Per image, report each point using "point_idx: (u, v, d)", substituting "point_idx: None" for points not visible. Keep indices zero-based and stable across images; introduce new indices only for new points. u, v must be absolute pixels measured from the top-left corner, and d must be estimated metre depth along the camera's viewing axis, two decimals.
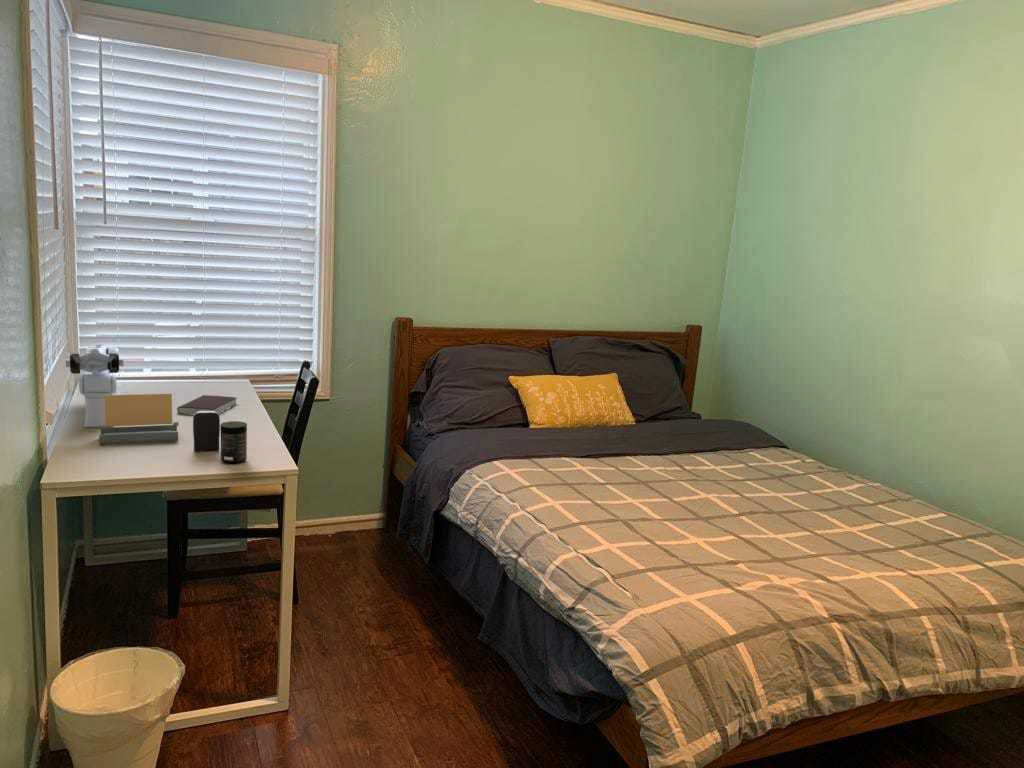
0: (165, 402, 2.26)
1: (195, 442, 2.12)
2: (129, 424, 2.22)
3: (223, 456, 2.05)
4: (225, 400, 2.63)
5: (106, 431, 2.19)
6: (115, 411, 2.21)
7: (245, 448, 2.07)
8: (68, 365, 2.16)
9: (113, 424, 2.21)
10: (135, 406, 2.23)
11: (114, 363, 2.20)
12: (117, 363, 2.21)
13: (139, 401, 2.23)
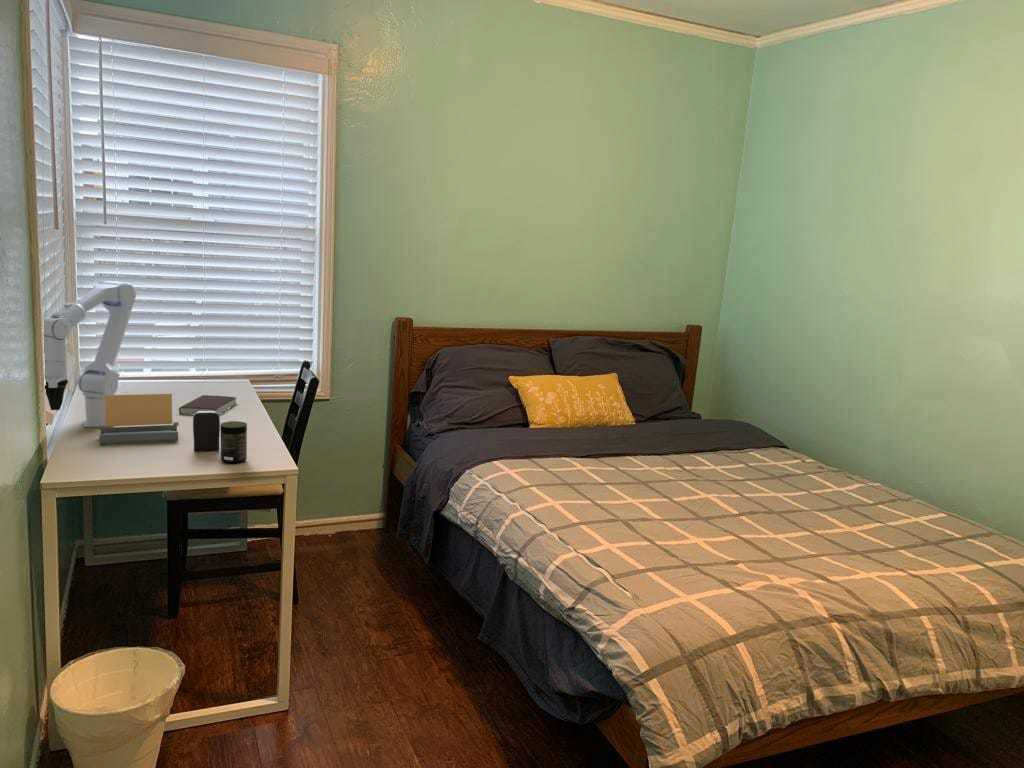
0: (165, 402, 2.26)
1: (195, 442, 2.12)
2: (129, 424, 2.22)
3: (223, 456, 2.05)
4: (225, 400, 2.64)
5: (106, 431, 2.19)
6: (115, 411, 2.21)
7: (245, 448, 2.07)
8: None
9: (113, 424, 2.21)
10: (135, 406, 2.23)
11: None
12: (54, 388, 2.12)
13: (139, 401, 2.23)
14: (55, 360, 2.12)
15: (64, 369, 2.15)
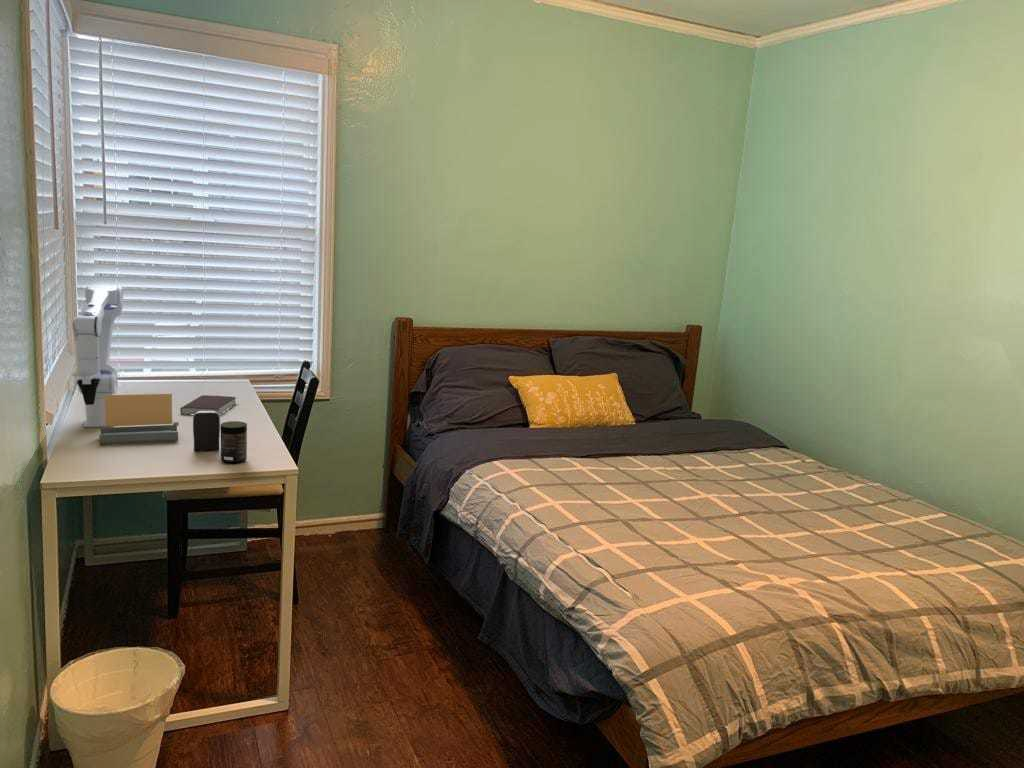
0: (165, 402, 2.26)
1: (195, 442, 2.12)
2: (129, 424, 2.22)
3: (223, 456, 2.05)
4: (226, 400, 2.64)
5: (106, 431, 2.19)
6: (115, 411, 2.21)
7: (245, 448, 2.07)
8: None
9: (113, 424, 2.21)
10: (135, 406, 2.23)
11: None
12: None
13: (139, 401, 2.23)
14: (95, 357, 2.17)
15: (97, 366, 2.19)
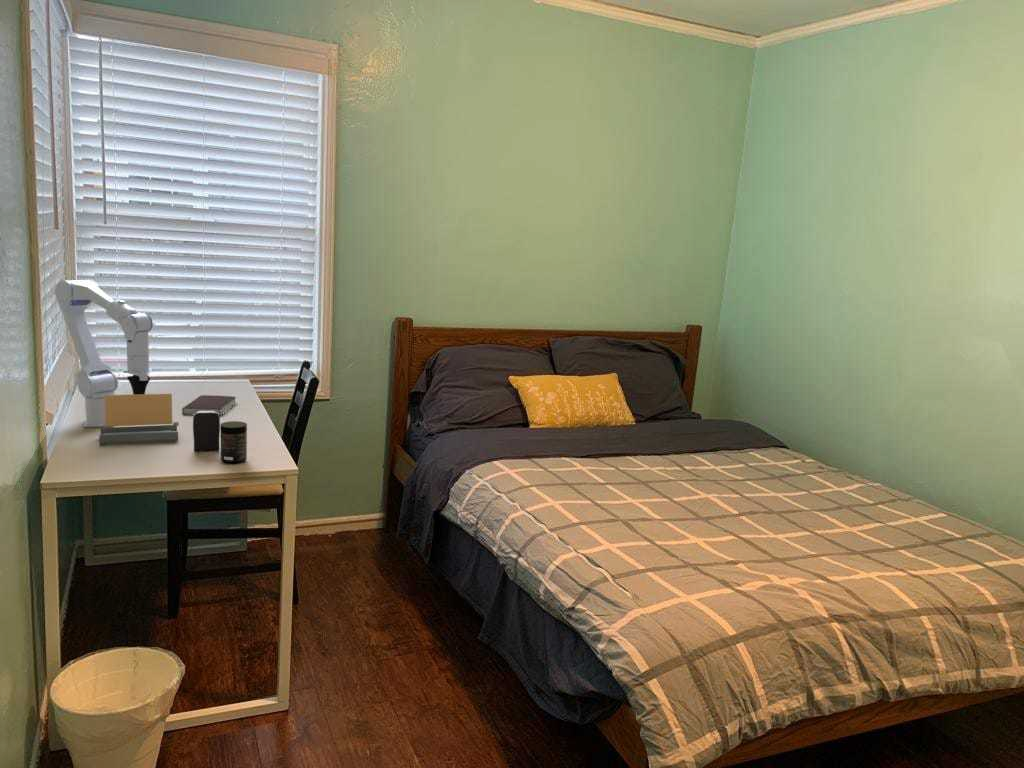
0: (165, 402, 2.26)
1: (195, 442, 2.12)
2: (129, 424, 2.22)
3: (223, 456, 2.05)
4: (226, 399, 2.64)
5: (106, 431, 2.19)
6: (115, 411, 2.21)
7: (245, 448, 2.07)
8: None
9: (113, 424, 2.21)
10: (135, 406, 2.23)
11: None
12: (140, 380, 2.23)
13: (139, 401, 2.23)
14: (148, 353, 2.24)
15: (148, 363, 2.24)
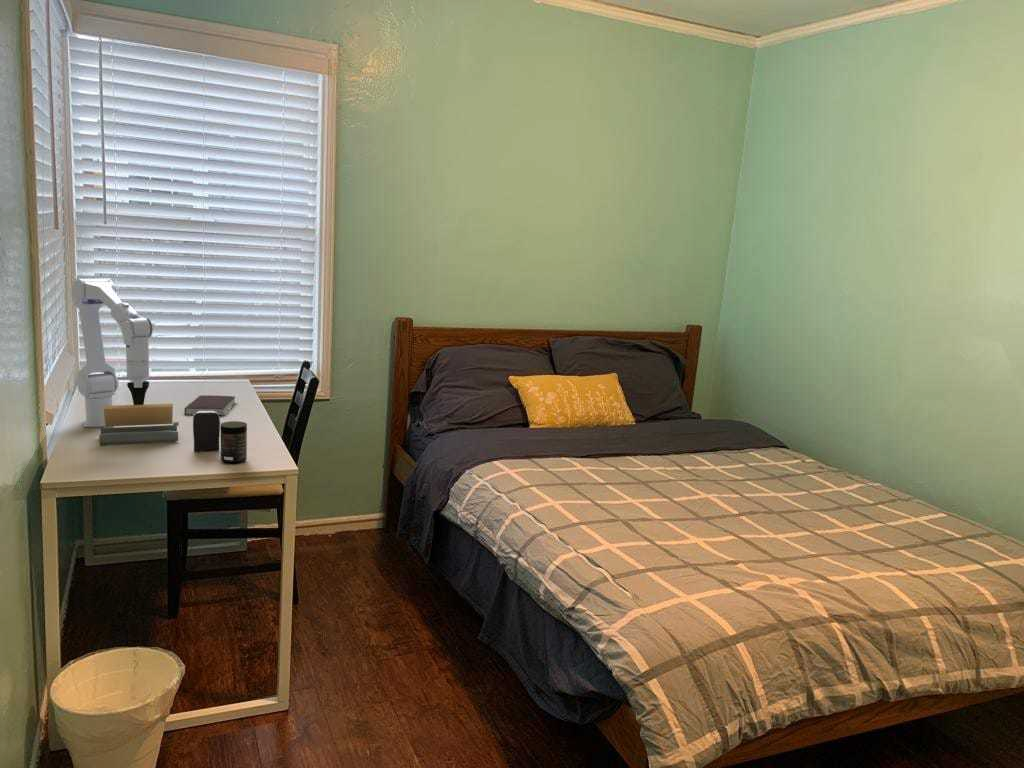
0: (165, 411, 2.22)
1: (195, 442, 2.12)
2: (129, 424, 2.22)
3: (223, 456, 2.05)
4: (227, 399, 2.65)
5: (106, 431, 2.19)
6: (115, 417, 2.18)
7: (245, 448, 2.07)
8: None
9: (113, 425, 2.20)
10: (135, 414, 2.19)
11: None
12: None
13: (139, 411, 2.19)
14: (148, 359, 2.17)
15: (147, 369, 2.16)
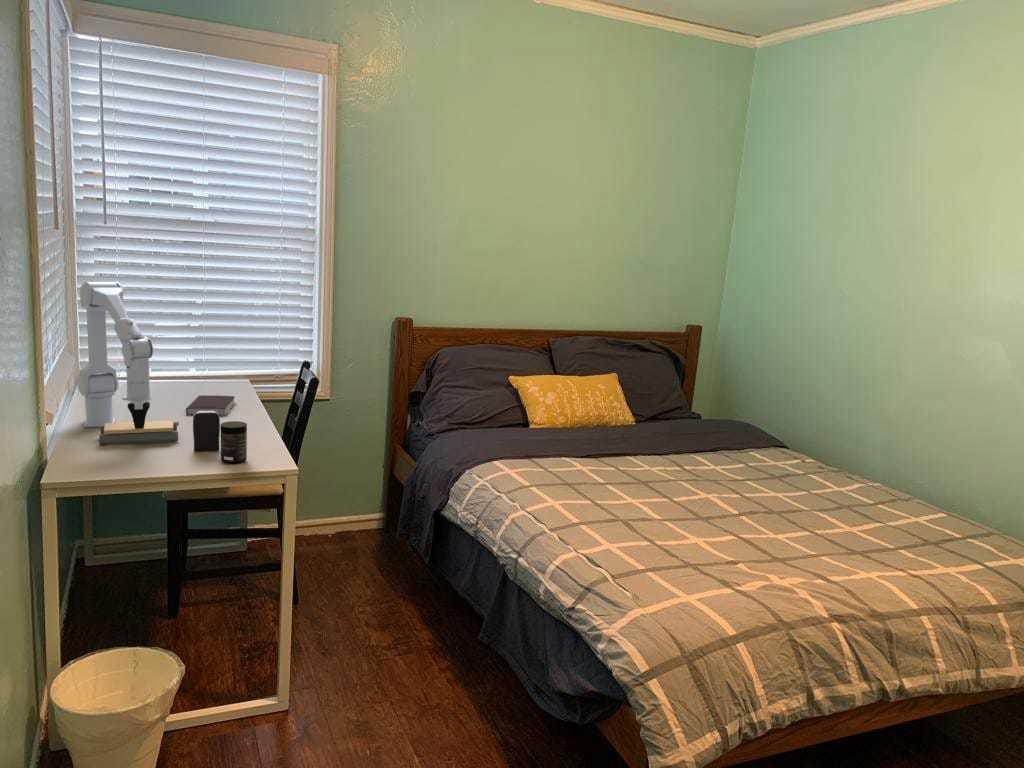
0: None
1: (195, 442, 2.12)
2: None
3: (223, 456, 2.05)
4: (227, 399, 2.65)
5: None
6: None
7: (245, 448, 2.07)
8: None
9: None
10: None
11: None
12: None
13: None
14: None
15: (148, 390, 2.14)
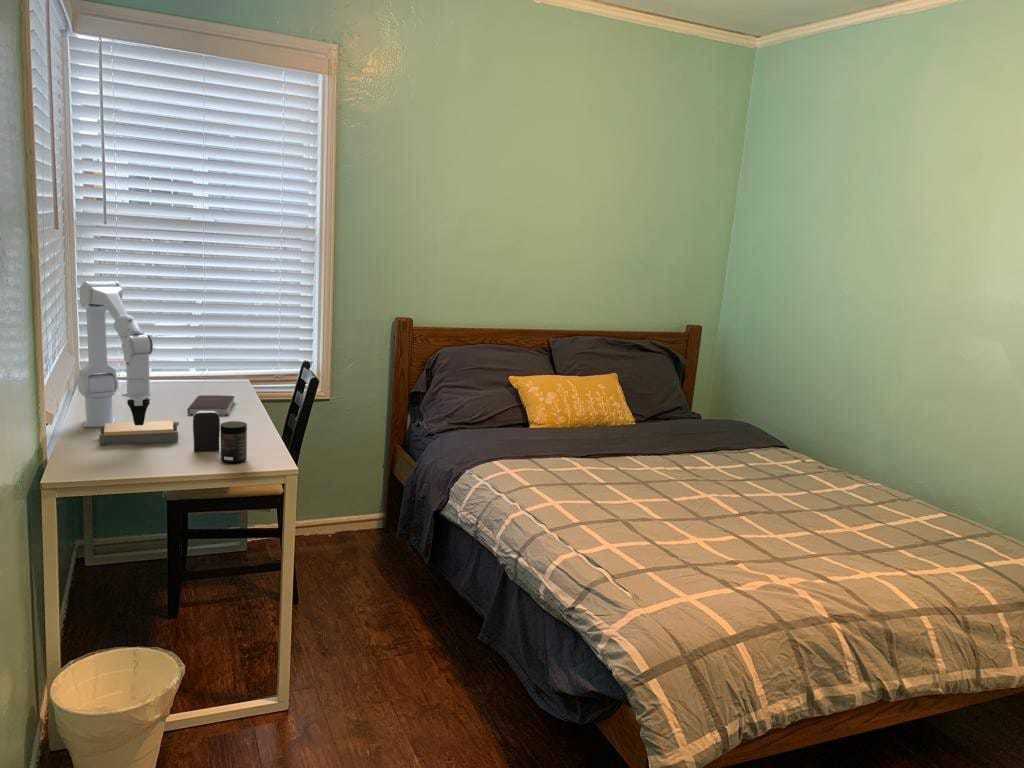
0: None
1: (195, 442, 2.12)
2: None
3: (223, 456, 2.05)
4: (227, 399, 2.65)
5: None
6: None
7: (245, 448, 2.07)
8: None
9: None
10: None
11: None
12: None
13: None
14: (148, 376, 2.14)
15: (148, 386, 2.14)
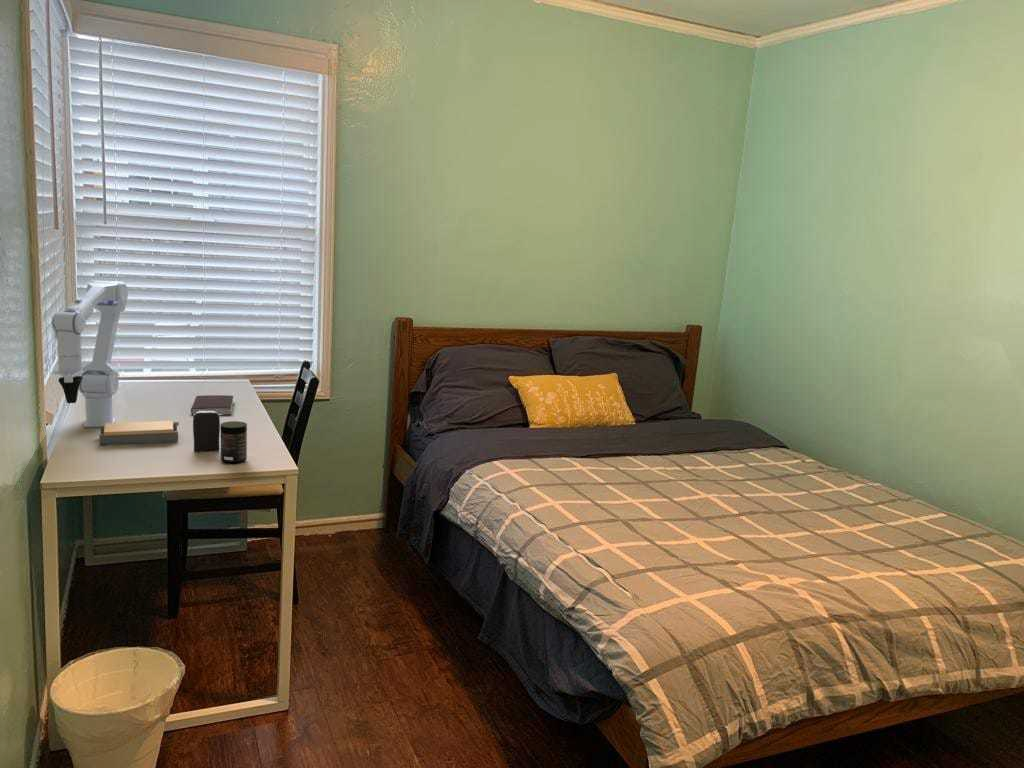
0: None
1: (195, 442, 2.12)
2: None
3: (223, 456, 2.05)
4: (227, 398, 2.66)
5: None
6: None
7: (245, 448, 2.07)
8: None
9: None
10: None
11: None
12: None
13: None
14: (74, 354, 2.11)
15: (79, 364, 2.13)
